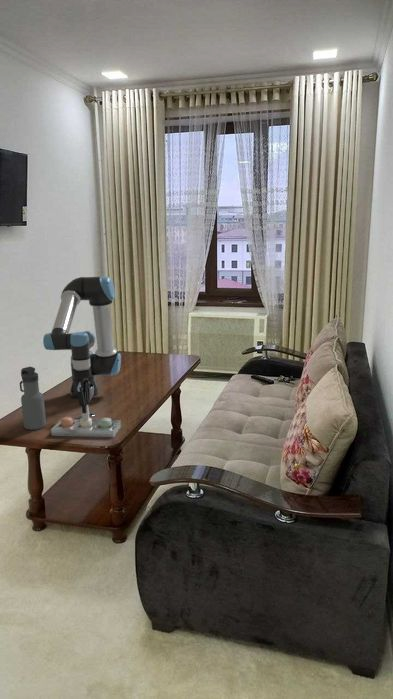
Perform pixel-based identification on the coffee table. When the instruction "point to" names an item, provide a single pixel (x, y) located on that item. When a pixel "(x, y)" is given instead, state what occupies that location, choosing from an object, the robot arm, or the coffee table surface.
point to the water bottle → (32, 400)
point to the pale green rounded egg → (105, 423)
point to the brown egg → (66, 422)
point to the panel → (86, 429)
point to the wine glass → (90, 399)
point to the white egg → (86, 423)
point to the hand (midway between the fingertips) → (85, 418)
